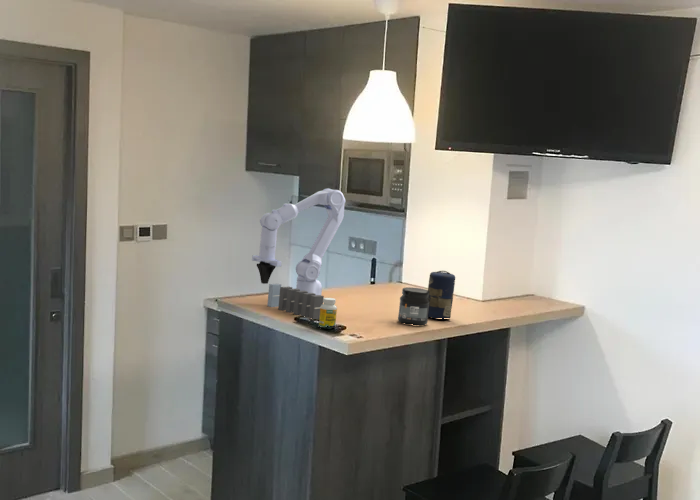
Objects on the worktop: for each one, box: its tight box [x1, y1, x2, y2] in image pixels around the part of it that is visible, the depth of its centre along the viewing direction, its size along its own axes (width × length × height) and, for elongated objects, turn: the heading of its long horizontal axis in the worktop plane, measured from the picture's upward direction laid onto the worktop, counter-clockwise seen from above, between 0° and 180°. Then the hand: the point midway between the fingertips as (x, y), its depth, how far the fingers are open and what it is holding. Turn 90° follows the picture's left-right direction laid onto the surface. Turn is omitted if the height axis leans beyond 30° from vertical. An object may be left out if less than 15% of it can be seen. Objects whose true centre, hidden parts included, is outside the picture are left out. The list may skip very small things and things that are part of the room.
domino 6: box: [308, 294, 325, 320], centre depth 258 cm, size 2×4×8 cm, turn 135°
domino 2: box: [277, 286, 293, 311], centre depth 269 cm, size 2×4×8 cm, turn 136°
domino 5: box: [300, 293, 316, 318], centre depth 260 cm, size 2×4×8 cm, turn 135°
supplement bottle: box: [318, 297, 338, 327], centre depth 245 cm, size 5×5×10 cm
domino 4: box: [293, 291, 308, 316], centre depth 263 cm, size 2×4×8 cm, turn 136°
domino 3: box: [285, 288, 300, 314], centre depth 266 cm, size 2×4×8 cm, turn 135°
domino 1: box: [267, 283, 282, 308], centre depth 273 cm, size 2×4×8 cm, turn 135°
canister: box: [427, 270, 456, 319], centre depth 280 cm, size 10×10×18 cm
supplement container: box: [397, 286, 430, 326], centre depth 267 cm, size 10×10×12 cm
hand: (264, 283), depth 277 cm, fingers closed
